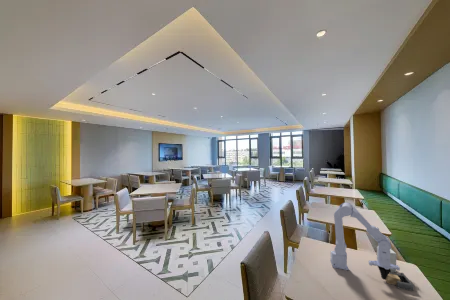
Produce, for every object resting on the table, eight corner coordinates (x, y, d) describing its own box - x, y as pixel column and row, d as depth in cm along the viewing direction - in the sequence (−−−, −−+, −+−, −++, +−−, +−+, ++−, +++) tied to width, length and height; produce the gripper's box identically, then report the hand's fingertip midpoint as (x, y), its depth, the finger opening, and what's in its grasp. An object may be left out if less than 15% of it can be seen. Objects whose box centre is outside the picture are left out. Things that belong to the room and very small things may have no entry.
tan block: (387, 283, 106) (387, 276, 106) (384, 279, 109) (384, 272, 109) (400, 285, 104) (400, 279, 104) (397, 281, 107) (397, 275, 107)
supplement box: (396, 272, 114) (397, 253, 114) (383, 271, 116) (383, 252, 115) (388, 264, 121) (389, 246, 121) (376, 263, 123) (376, 245, 122)
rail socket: (397, 287, 103) (397, 282, 102) (388, 275, 112) (388, 270, 112) (413, 291, 100) (413, 285, 100) (402, 278, 109) (403, 272, 109)
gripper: (372, 258, 106) (371, 280, 107) (403, 263, 101) (402, 286, 102) (367, 251, 113) (367, 272, 113) (396, 256, 108) (395, 277, 108)
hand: (383, 278), depth 108 cm, fingers closed
